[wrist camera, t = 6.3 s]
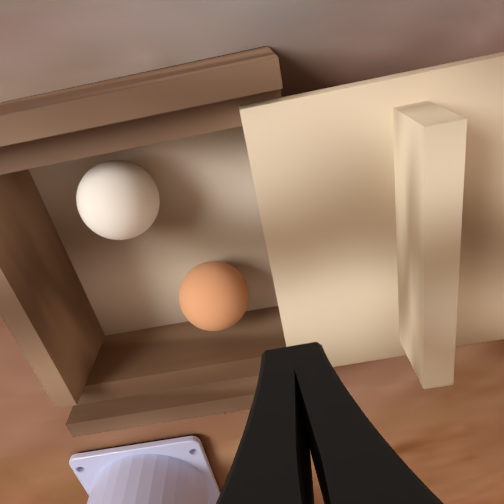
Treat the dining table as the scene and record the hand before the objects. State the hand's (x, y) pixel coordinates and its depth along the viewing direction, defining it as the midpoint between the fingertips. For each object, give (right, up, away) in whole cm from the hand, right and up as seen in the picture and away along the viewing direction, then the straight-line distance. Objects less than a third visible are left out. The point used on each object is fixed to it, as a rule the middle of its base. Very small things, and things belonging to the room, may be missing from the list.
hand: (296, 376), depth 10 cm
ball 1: (-6, +6, +7) cm, 11 cm away
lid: (+4, +4, +5) cm, 8 cm away
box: (-5, +4, +9) cm, 11 cm away
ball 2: (-3, +2, +9) cm, 10 cm away
